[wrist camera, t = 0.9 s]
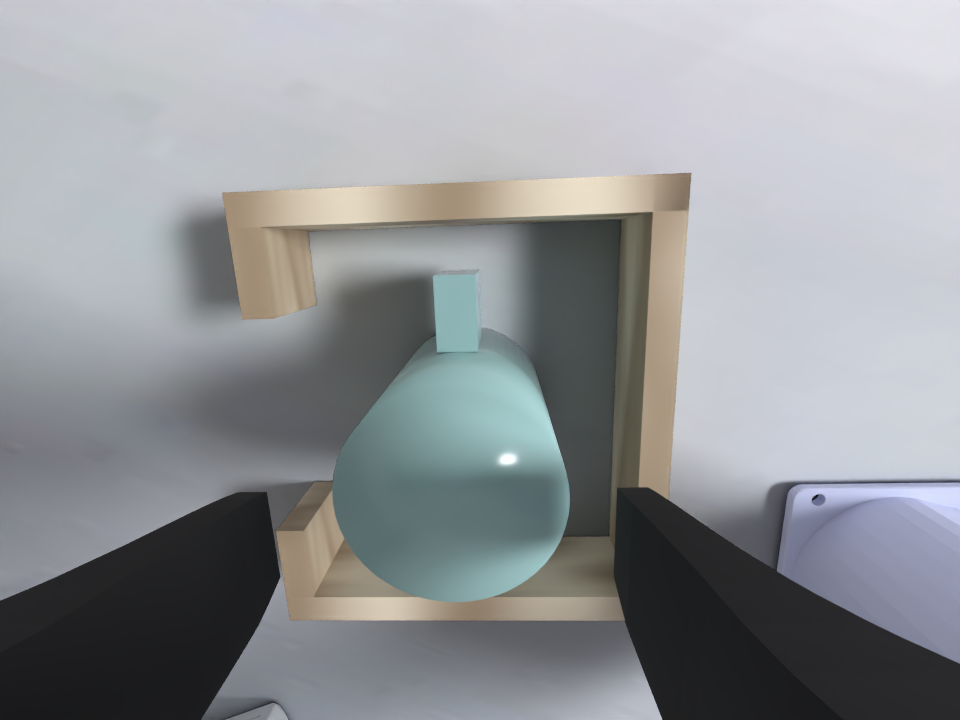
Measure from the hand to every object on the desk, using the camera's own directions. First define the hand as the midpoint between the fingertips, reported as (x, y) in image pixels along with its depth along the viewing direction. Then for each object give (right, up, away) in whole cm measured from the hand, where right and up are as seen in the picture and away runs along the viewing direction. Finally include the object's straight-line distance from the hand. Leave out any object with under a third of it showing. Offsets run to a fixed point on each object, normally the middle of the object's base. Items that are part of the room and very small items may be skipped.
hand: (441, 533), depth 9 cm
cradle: (0, +2, +9) cm, 9 cm away
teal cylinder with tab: (0, +3, +9) cm, 9 cm away
